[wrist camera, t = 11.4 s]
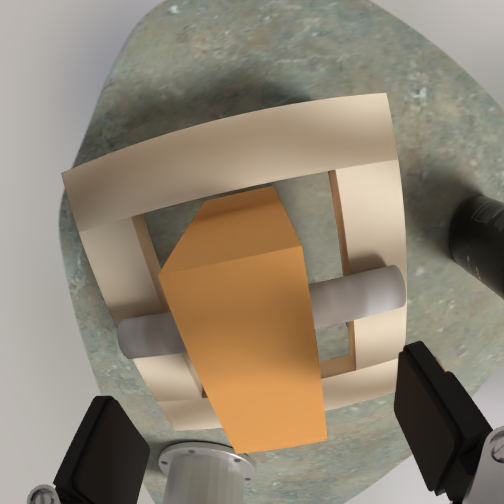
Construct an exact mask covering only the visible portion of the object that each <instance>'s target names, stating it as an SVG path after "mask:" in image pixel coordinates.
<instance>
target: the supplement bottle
mask: <svg viewBox="0 0 504 504" xmlns="http://www.w3.org/2000/svg"><path fill="white" fill-rule="evenodd" d="M449 246H450V251H451V254H452V256H453V258H454V260H455V261H456V263H457V264H459V265H460V266H461V267H462V268H463V269H465V270H466V271H467V272H469V273H470V274H471V275H473V276H474V277H475V278H477V279H478V280H479V281H481V282H482V283H483V284H485V285H486V286H487V287H488V288H490V289H491V290H492V291H493V292H495V293H496V294H497V295H498V296H500V297H501V298H502V299H503V300H504V203H502V202H500V201H497V200H494V199H491V198H488V197H485V196H476V197H473V198H471V199H469V200H467V201H466V202H465V203H464V204H463V205H462V206H461V207H460V208H459V209H458V211H457V212H456V214H455V216H454V218H453V221H452V224H451V227H450V233H449Z"/></svg>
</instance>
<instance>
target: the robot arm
mask: <svg viewBox="0 0 504 504" xmlns="http://www.w3.org/2000/svg"><path fill="white" fill-rule="evenodd" d="M394 412H395V415H396V418H397V420H398V422H399V424H400V426H401V429H402V431H403V433H404V435H405V437H406V440H407V442H408V444H409V446H410V449H411V451H412V453H413V455H414V458H415V460H416V462H417V465H418V467H419V469H420V472H421V474H422V476H423V479H424V481H425V484H426V486H427V488H428V490H429V491H434V492H435V494H436V496H439V495H441V494H442V493H445V492H446V494H447V496H448V498H449V500H450V501H451V502H450V504H504V426H502V427H499V428H496V429H495V430H493V429H492V428H491V426H490V425H489V423H488V422H487V420H486V419H485V417H484V416H483V414H482V413H481V411H480V410H479V409H478V407H477V406H476V404H475V403H474V401H473V400H472V399H471V397H470V396H469V394H468V393H467V392H466V390H465V389H464V387H463V386H462V385H461V383H460V382H459V381H458V379H457V378H456V377H455V375H454V374H453V373H452V372H450V371H447V372H445V371H444V370H443V368H442V367H441V366H440V364H439V363H438V361H437V360H436V359H435V357H434V356H433V355H432V353H431V352H430V351H429V350H428V348H427V347H426V346H425V344H424V343H423V342H422V341H417V342H415V343H412V344H409V345H405V346H404V347H403V351H401V352H399V355H398V369H397V381H396V391H395V401H394ZM149 454H150V449H149V446H148V444H147V443H146V441H145V440H144V439H143V437H142V436H141V434H140V433H139V432H138V430H137V429H136V427H135V426H134V425H133V423H132V422H131V420H130V419H129V417H128V416H127V414H126V413H125V411H124V410H123V408H122V407H121V405H120V404H119V402H118V401H117V400H115V399H114V398H113V397H112V396H96V397H95V398H94V399H93V401H92V403H91V405H90V406H89V408H88V410H87V412H86V414H85V416H84V418H83V420H82V422H81V424H80V426H79V428H78V430H77V433H76V434H75V436H74V438H73V440H72V442H71V445H70V447H69V449H68V451H67V453H66V455H65V457H64V459H63V462H62V464H61V466H60V468H59V470H58V473H57V475H56V477H55V479H54V482H53V484H54V485H56V488H55V489H54V488H53V487H51V486H49V485H40V486H37V487H35V488H34V489H33V490H32V491H31V492H30V494H29V495H28V499H27V504H137V500H138V496H139V492H140V488H141V484H142V480H143V477H144V473H145V469H146V465H147V461H148V458H149ZM158 462H159V467H160V469H161V470H162V472H163V473H164V474H165V475H166V476H168V478H167V483H166V488H165V493H164V499H163V504H243V487H244V486H246V485H247V484H249V483H250V482H252V481H253V479H254V478H255V475H256V466H255V464H254V462H253V461H252V460H251V459H250V458H249V457H248V456H247V455H245V454H244V453H241V454H236V452H235V450H234V449H232V448H230V447H226V446H222V445H218V444H212V443H204V442H186V443H179V444H175V445H171V446H169V447H167V448H165V449H164V450H163V451H162V452H161V454H160V457H159V461H158Z"/></svg>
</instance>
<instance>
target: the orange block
mask: <svg viewBox="0 0 504 504" xmlns="http://www.w3.org/2000/svg"><path fill="white" fill-rule="evenodd" d="M158 278H159V281H160V283H161V286H162V289H163V291H164V294H165V297H166V299H167V302H168V305H169V307H170V310H171V312H172V315H173V318H174V320H175V323H176V325H177V328H178V330H179V333H180V335H181V337H182V340H183V342H184V345H185V347H186V349H187V352H188V354H189V356H190V359H191V361H192V363H193V366H194V368H195V370H196V372H197V375H198V377H199V379H200V381H201V383H202V386H203V388H204V390H205V392H206V394H207V396H208V398H209V401H210V403H211V405H212V407H213V409H214V411H215V413H216V415H217V417H218V419H219V421H220V423H221V425H222V427H223V429H224V431H225V433H226V435H227V437H228V439H229V441H230V443H231V445H232V446H233V448H234V450H235V452H236V454H241V453H251V452H259V451H267V450H274V449H281V448H287V447H293V446H299V445H305V444H310V443H315V442H320V441H324V440H327V430H326V420H325V410H324V400H323V391H322V382H321V374H320V366H319V358H318V350H317V342H316V335H315V327H314V320H313V313H312V306H311V300H310V293H309V286H308V280H307V274H306V268H305V261H304V255H303V250H302V245H301V243H300V241H299V238H298V236H297V234H296V232H295V230H294V228H293V226H292V224H291V221H290V219H289V217H288V215H287V213H286V211H285V209H284V207H283V205H282V202H281V200H280V198H279V196H278V194H277V192H276V190H275V188H274V186H269V187H265V188H260V189H255V190H251V191H246V192H241V193H237V194H232V195H228V196H224V197H219V198H215V199H211V200H206V201H204V203H203V205H202V206H201V208H200V209H199V211H198V212H197V214H196V215H195V217H194V218H193V220H192V221H191V223H190V224H189V226H188V228H187V229H186V231H185V232H184V234H183V235H182V237H181V239H180V240H179V242H178V243H177V245H176V247H175V248H174V250H173V251H172V253H171V255H170V256H169V258H168V259H167V261H166V263H165V264H164V266H163V268H162V269H161V271H160V273H159V274H158Z"/></svg>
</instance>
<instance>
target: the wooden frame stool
mask: <svg viewBox="0 0 504 504" xmlns="http://www.w3.org/2000/svg"><path fill="white" fill-rule="evenodd" d="M324 171H328V175H329V180H330V186H331V192H332V198H333V204H334V210H335V217H336V224H337V231H338V238H339V245H340V253H341V261H342V270H343V277H340V278H335V279H331V280H327V281H322V282H318V283H313V284H309V285H308V286H309V293H310V300H311V306H312V313H313V320H314V327H315V329H319V328H324V327H328V326H332V325H336V324H341V323H346V325H347V327H348V335H349V350H350V355H346V356H342V357H338V358H334V359H330V360H326V361H321V362H319V366H320V374H321V382H322V391H323V400H324V410H325V411H327V410H332V409H336V408H340V407H344V406H348V405H352V404H355V403H359V402H363V401H366V400H370V399H373V398H377V397H380V396H383V395H386V394H390V393H393V392H395V391H396V381H397V369H398V355H399V352H401V351H403V347H404V346H405V334H406V311H407V257H406V234H405V218H404V206H403V195H402V186H401V177H400V169H399V162H398V155H397V148H396V142H395V136H394V130H393V125H392V119H391V114H390V109H389V105H388V100H387V95H386V93H380V94H367V95H356V96H347V97H338V98H330V99H322V100H315V101H308V102H302V103H296V104H290V105H284V106H279V107H273V108H268V109H263V110H258V111H253V112H249V113H244V114H240V115H235V116H231V117H227V118H223V119H218V120H214V121H211V122H207V123H203V124H199V125H196V126H192V127H188V128H185V129H181V130H178V131H175V132H171V133H168V134H165V135H161V136H158V137H155V138H152V139H149V140H146V141H143V142H140V143H137V144H134V145H131V146H128V147H126V148H123V149H120V150H117V151H115V152H112V153H109V154H107V155H104V156H101V157H99V158H96V159H94V160H91V161H89V162H86V163H84V164H81V165H79V166H77V167H74V168H72V169H70V170H68V171H65V172H63V173H61V174H62V178H63V182H64V186H65V189H66V193H67V196H68V200H69V203H70V207H71V210H72V213H73V216H74V220H75V223H76V226H77V229H78V232H79V235H80V238H81V241H82V243H83V246H84V249H85V252H86V255H87V257H88V260H89V263H90V265H91V268H92V270H93V273H94V275H95V278H96V280H97V283H98V285H99V288H100V290H101V293H102V295H103V297H104V300H105V302H106V304H107V307H108V309H109V311H110V313H111V315H112V318H113V320H114V322H115V324H116V326H117V328H118V332H117V334H118V342H119V346H120V349H121V351H122V353H123V354H124V355H125V356H126V357H127V358H129V359H133V361H134V362H135V364H136V366H137V368H138V370H139V372H140V374H141V375H142V377H143V379H144V381H145V383H146V384H147V386H148V388H149V390H150V391H151V393H152V395H153V397H154V398H155V400H156V402H157V403H158V405H159V407H160V408H161V410H162V412H163V413H164V415H165V417H166V418H167V420H168V421H169V423H170V424H171V426H172V428H173V429H174V431H177V430H197V429H211V428H222V425H221V423H220V421H219V419H218V417H217V415H216V413H215V411H214V409H213V407H212V405H211V403H210V401H209V398H208V396H207V394H206V392H205V390H204V388H203V386H202V383H201V381H200V379H199V377H198V375H197V372H196V370H195V368H194V366H193V363H192V361H191V359H190V356H189V354H188V352H187V349H186V347H185V345H184V342H183V340H182V337H181V335H180V333H179V330H178V328H177V325H176V323H175V320H174V318H173V315H172V312H171V310H170V307H169V305H168V302H167V299H166V297H165V294H164V291H163V289H162V286H161V283H160V281H159V278H158V274H159V273H160V271H161V268H160V265H159V262H158V259H157V256H156V253H155V250H154V247H153V244H152V241H151V238H150V234H149V231H148V228H147V225H146V222H145V218H144V215H143V213H146V212H150V211H153V210H157V209H161V208H164V207H168V206H172V205H176V204H180V203H183V202H187V201H191V200H195V199H199V198H203V197H207V196H212V195H216V194H220V193H224V192H228V191H233V190H237V189H241V188H246V187H250V186H255V185H259V184H264V183H269V182H273V181H278V180H283V179H288V178H293V177H298V176H303V175H308V174H314V173H319V172H324Z"/></svg>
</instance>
